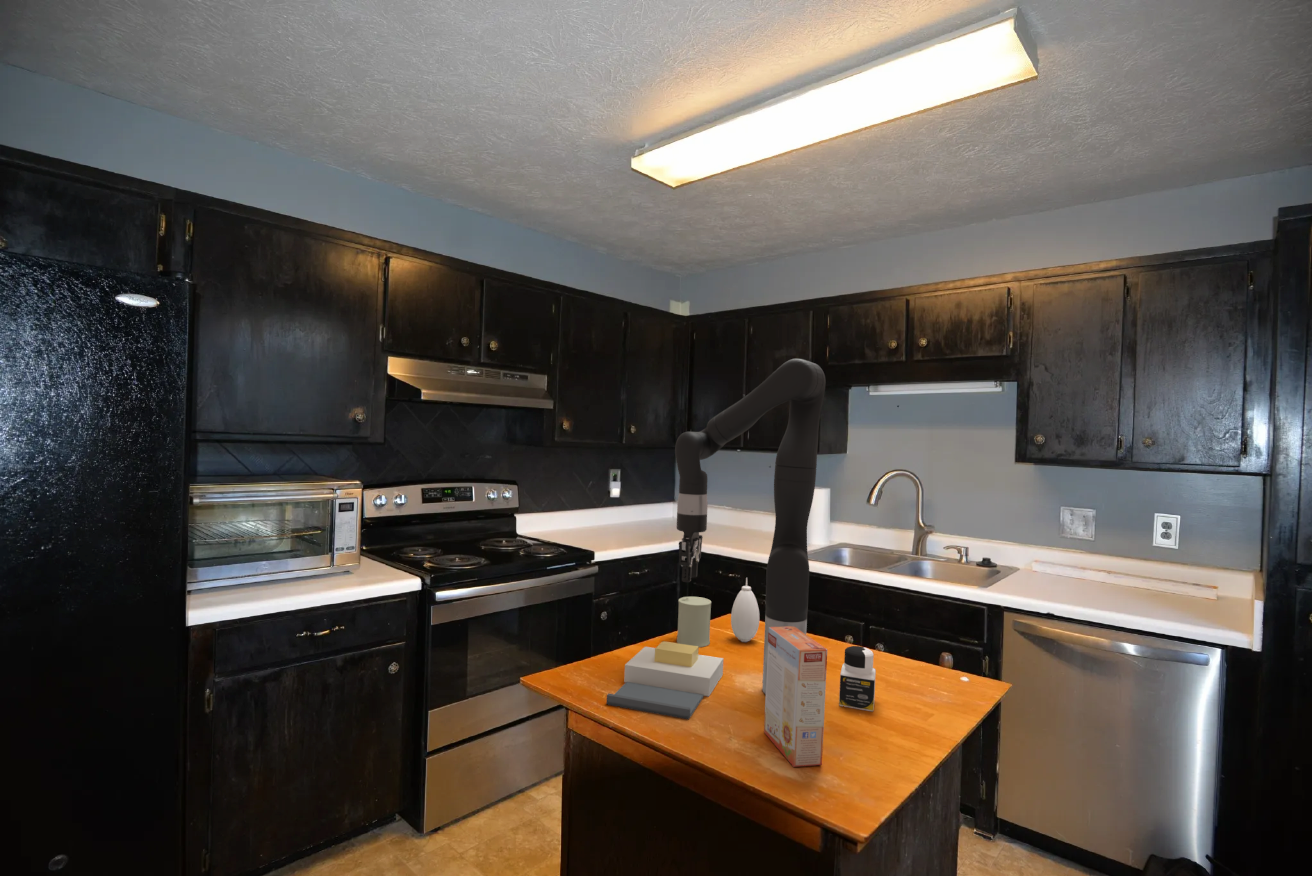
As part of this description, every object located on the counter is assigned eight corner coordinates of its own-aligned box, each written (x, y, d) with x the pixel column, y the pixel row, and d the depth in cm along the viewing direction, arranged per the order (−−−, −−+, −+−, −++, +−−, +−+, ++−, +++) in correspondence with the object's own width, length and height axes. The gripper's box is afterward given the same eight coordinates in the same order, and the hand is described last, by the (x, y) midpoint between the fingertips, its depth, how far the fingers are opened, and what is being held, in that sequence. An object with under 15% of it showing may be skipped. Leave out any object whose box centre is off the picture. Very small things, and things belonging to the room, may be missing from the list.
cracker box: (824, 766, 115) (829, 648, 114) (792, 769, 113) (797, 649, 113) (791, 730, 128) (796, 624, 128) (762, 732, 127) (767, 625, 127)
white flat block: (722, 674, 157) (723, 658, 157) (708, 696, 143) (709, 678, 143) (644, 662, 163) (645, 646, 163) (624, 682, 150) (624, 664, 150)
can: (678, 635, 186) (680, 593, 186) (710, 638, 185) (712, 596, 184) (674, 645, 177) (676, 601, 177) (708, 648, 175) (710, 604, 175)
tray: (703, 697, 143) (703, 688, 143) (688, 719, 131) (689, 709, 131) (626, 684, 148) (627, 675, 148) (606, 704, 137) (606, 695, 137)
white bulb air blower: (751, 647, 178) (754, 581, 178) (725, 641, 182) (728, 577, 182) (762, 640, 185) (765, 577, 184) (737, 635, 188) (739, 573, 188)
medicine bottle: (838, 706, 141) (841, 651, 141) (841, 694, 148) (843, 641, 148) (873, 712, 138) (875, 656, 138) (874, 699, 145) (876, 646, 145)
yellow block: (698, 658, 155) (698, 646, 155) (691, 667, 150) (692, 654, 150) (662, 653, 158) (662, 641, 158) (654, 661, 153) (655, 648, 153)
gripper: (699, 516, 154) (696, 587, 154) (713, 509, 168) (710, 575, 168) (669, 513, 157) (666, 583, 157) (685, 507, 170) (682, 572, 170)
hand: (689, 579), depth 162 cm, fingers open, 5 cm apart
